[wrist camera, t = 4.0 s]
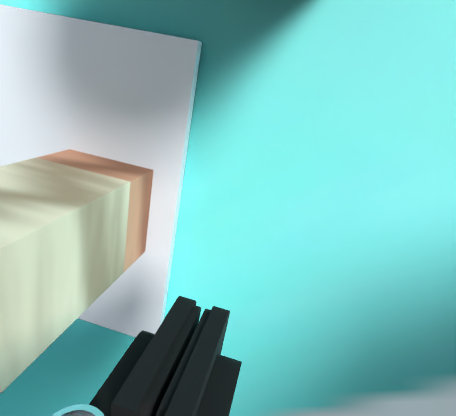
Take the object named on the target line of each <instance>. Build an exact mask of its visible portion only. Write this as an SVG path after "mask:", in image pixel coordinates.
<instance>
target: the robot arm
mask: <svg viewBox="0 0 456 416" xmlns="http://www.w3.org/2000/svg"><path fill="white" fill-rule="evenodd" d="M200 312H201V307H198V306H196V301H195V300H192V299H188V298H185V297H181V296H179V297H178V298H177V300H176V301H175V303H174V305H173V306H172V308H171V309H170V311H169V312H168V314H167V316H166V317H165V319H164V320H163V322H162V324H161V325H160V327H159V328H158V330H157V332H156V333H155V334H153V333H150V332H147V331H144V330H142V331H141V332H140V333H139V334H138V335H137V337H136V338H135V339H134V341H133V342H132V344H131V345H130V347H129V348H128V349H127V351H126V352H125V354H124V355H123V357H122V358H121V359H120V361H119V362H118V364H117V365H116V367H115V368H114V369H113V371H112V372H111V374H110V375H109V377H108V378H107V379H106V381H105V382H104V384H103V385H102V387H101V388H100V390H99V391H98V392H97V394H96V395H95V397H94V398H93V400H92V401H91V402H90V404H89V405H88V404H76V405H71V406H67V407H65V408H63V409H61V410H59V411H57V412H56V413H54V414H53V415H52V416H229V412H230V408H231V404H232V400H233V396H234V392H235V388H236V384H237V379H238V375H239V371H240V367H241V363H242V362H241V361H237V360H234V359H231V358H228V357H225V356H222V355H220V354H221V350H222V345H223V341H224V337H225V332H226V328H227V323H228V319H229V314H230V311H228V310H225V309H222V308H218V307H215V306H213V308H212V310H208V309H205V311H204V313H203V315H202V317H201V319H200V321H199V317H200Z"/></svg>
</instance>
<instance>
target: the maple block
mask: <svg viewBox="0 0 456 416" xmlns="http://www.w3.org/2000/svg"><path fill="white" fill-rule="evenodd" d="M152 180H153V170H152V169H148V168H144V167H140V166H136V165H132V164H128V163H124V162H120V161H116V160H112V159H108V158H104V157H99V156H95V155H91V154H87V153H83V152H79V151H75V150H71V149H68V150H64V151H60V152H56V153H52V154H48V155H44V156H40V157H36V158H32V159H28V160H24V161H20V162H16V163H12V164H8V165H4V166H0V393H2V392H3V391H4V390H5V389H6V388H7V387H8V386H9V385H10V384H11V383H12V382H13V381H14V380H15V379H16V378H17V377H18V376H19V375H20V374H21V373H22V372H23V371H24V370H25V369H26V368H27V367H28V366H29V365H30V364H31V363H32V362H33V361H34V360H35V359H36V358H37V357H38V356H39V355H41V354H42V353H43V352H44V351H45V350H46V349H47V348H48V347H49V346H50V345H51V344H52V343H53V342H54V341H55V340H56V339H57V338H58V337H59V336H60V335H61V334H62V333H63V332H64V331H65V330H66V329H67V328H68V327H69V326H70V325H71V324H72V323H73V322H74V321H75V320H76V319H77V318H78V317H79V316H80V315H81V314H82V313H83V312H84V311H85V310H86V309H87V308H88V307H89V306H90V305H91V304H92V303H93V302H94V301H95V300H96V299H97V298H98V297H99V296H100V295H102V294H103V293H104V292H105V291H106V290H107V289H108V288H109V287H110V286H111V285H112V284H113V283H114V282H115V281H116V280H117V279H118V278H119V277H120V276H121V275H122V274H123V273H124V272H125V271H126V270H127V269H128V268H129V267H130V266H131V265H132V264H133V263H134V262H135V261H136V260H137V259H138V258H139V257H140V256H141V255H142V254H143V253H144V252H145V249H146V239H147V229H148V219H149V210H150V200H151V190H152Z"/></svg>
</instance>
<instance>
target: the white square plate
mask: <svg viewBox="0 0 456 416" xmlns="http://www.w3.org/2000/svg"><path fill="white" fill-rule="evenodd" d="M201 46H202V42H200V41H197V40H192V39H186V38H181V37H175V36H170V35H164V34H159V33H153V32H148V31H143V30H137V29H132V28H126V27H121V26H115V25H110V24H104V23H99V22H93V21H88V20H82V19H77V18H71V17H66V16H60V15H55V14H49V13H44V12H38V11H33V10H27V9H22V8H16V7H11V6H5V5H0V166H4V165H8V164H12V163H16V162H20V161H24V160H28V159H32V158H36V157H40V156H44V155H48V154H52V153H56V152H60V151H64V150H68V149H71V150H75V151H79V152H83V153H87V154H91V155H95V156H99V157H104V158H108V159H112V160H116V161H120V162H124V163H128V164H132V165H136V166H140V167H144V168H148V169H152V170H153V180H152V190H151V200H150V210H149V219H148V229H147V239H146V249H145V252H144V253H143V254H142V255H141V256H140V257H139V258H138V259H137V260H136V261H135V262H134V263H133V264H132V265H131V266H130V267H129V268H128V269H127V270H126V271H125V272H124V273H123V274H122V275H121V276H120V277H119V278H118V279H117V280H116V281H115V282H114V283H113V284H112V285H111V286H110V287H109V288H108V289H107V290H106V291H105V292H104V293H103V294H102V295H100V296H99V297H98V298H97V299H96V300H95V301H94V302H93V303H92V304H91V305H90V306H89V307H88V308H87V309H86V310H85V311H84V312H83V313H82V314H81V315H80V316H79V317H78V319H81V320H84V321H87V322H90V323H93V324H96V325H99V326H103V327H106V328H109V329H112V330H115V331H118V332H121V333H124V334H127V335H130V336H133V337H137V335H138V334H139V333H140V332H141V331H142V330H144V331H147V332H150V333H153V334H155V333H156V332H157V330H158V328H159V327H160V325H161V324H162V322H163V320H164V316H165V308H166V301H167V294H168V286H169V279H170V272H171V265H172V257H173V250H174V243H175V236H176V228H177V221H178V214H179V206H180V199H181V192H182V185H183V177H184V170H185V163H186V155H187V148H188V141H189V134H190V126H191V119H192V112H193V104H194V97H195V90H196V83H197V75H198V68H199V61H200V54H201Z"/></svg>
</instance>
